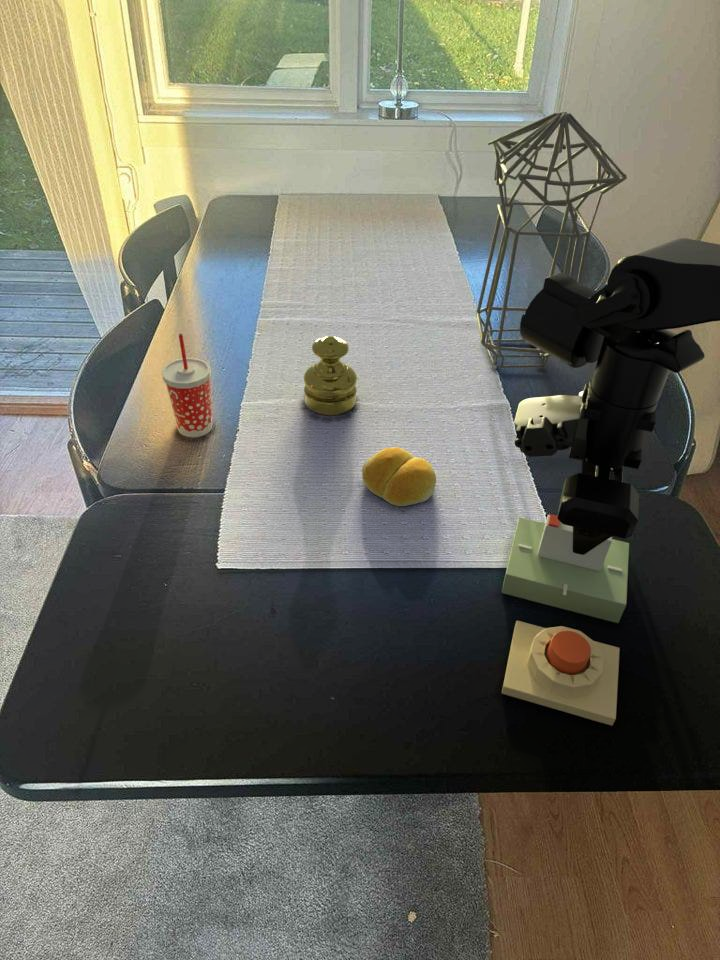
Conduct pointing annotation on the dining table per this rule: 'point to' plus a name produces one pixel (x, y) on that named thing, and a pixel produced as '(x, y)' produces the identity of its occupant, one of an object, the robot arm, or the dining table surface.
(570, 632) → the button
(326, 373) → the gold tiered piece
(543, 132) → the geometric lantern
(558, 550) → the white switch lever
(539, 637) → the button box
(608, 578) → the panel
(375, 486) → the bread roll
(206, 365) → the beverage cup
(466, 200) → the dining table surface
